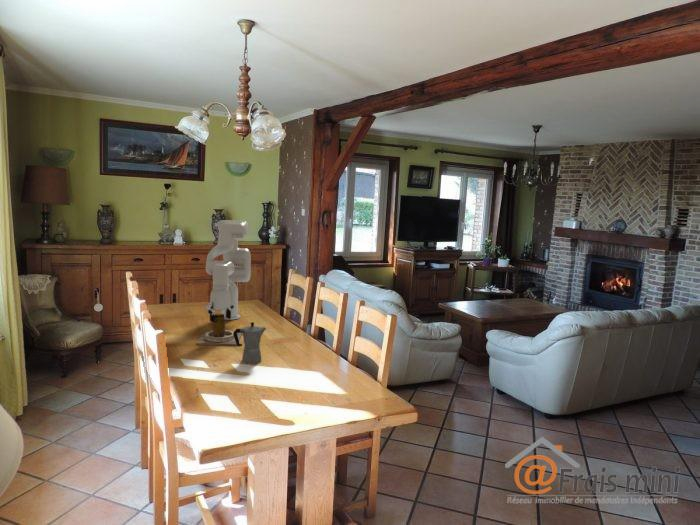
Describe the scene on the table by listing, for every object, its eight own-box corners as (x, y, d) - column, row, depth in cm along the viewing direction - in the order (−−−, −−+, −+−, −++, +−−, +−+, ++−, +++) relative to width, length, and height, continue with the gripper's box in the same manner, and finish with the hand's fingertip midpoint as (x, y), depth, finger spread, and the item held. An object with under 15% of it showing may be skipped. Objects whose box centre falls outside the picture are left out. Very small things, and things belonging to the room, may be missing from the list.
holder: (204, 333, 264) (204, 327, 263) (242, 334, 266) (242, 328, 265) (196, 344, 244) (196, 339, 244) (236, 345, 246) (237, 340, 245)
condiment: (216, 334, 260) (216, 312, 258) (230, 336, 258) (231, 313, 256) (209, 338, 253) (209, 315, 251) (224, 340, 251) (224, 317, 249)
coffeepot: (262, 355, 234) (262, 318, 231) (268, 361, 226) (269, 323, 223) (229, 359, 226) (230, 321, 224) (235, 366, 218) (236, 326, 215)
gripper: (230, 284, 260) (230, 315, 263) (201, 288, 247) (201, 321, 250) (239, 286, 255) (238, 318, 258) (210, 291, 242) (210, 324, 245)
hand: (220, 319), depth 254 cm, fingers open, 9 cm apart
